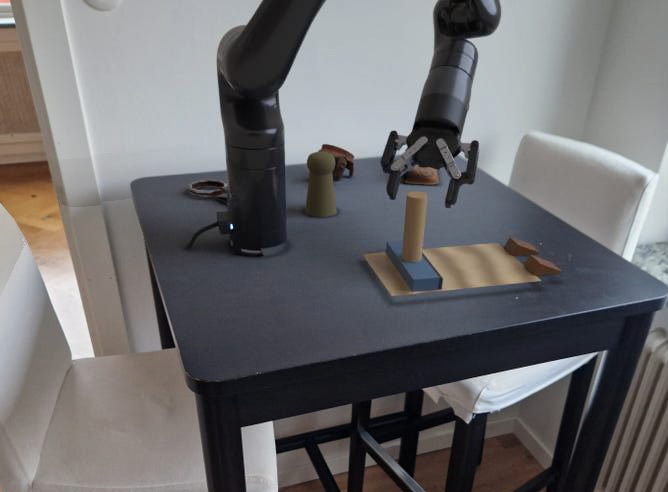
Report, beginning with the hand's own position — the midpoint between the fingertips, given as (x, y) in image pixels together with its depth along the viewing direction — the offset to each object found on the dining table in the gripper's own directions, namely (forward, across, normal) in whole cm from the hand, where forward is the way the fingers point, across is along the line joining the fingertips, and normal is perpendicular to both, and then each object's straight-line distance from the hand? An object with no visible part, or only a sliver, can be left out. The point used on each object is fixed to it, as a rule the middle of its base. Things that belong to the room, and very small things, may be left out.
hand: (419, 201), depth 101 cm
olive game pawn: (-6, -23, +22) cm, 33 cm away
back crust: (-1, +15, +16) cm, 22 cm away
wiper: (+9, 0, +5) cm, 10 cm away
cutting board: (+7, +5, +9) cm, 13 cm away
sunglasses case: (-28, -11, +45) cm, 55 cm away
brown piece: (-19, -27, +36) cm, 49 cm away
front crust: (+4, +19, +12) cm, 23 cm away
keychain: (-5, -42, +22) cm, 48 cm away
